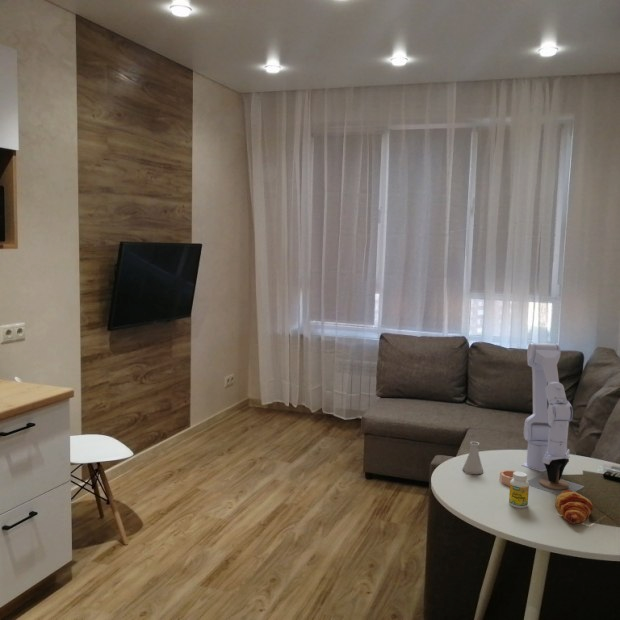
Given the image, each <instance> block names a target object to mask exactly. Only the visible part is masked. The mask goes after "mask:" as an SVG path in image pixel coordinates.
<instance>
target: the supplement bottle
mask: <svg viewBox="0 0 620 620" xmlns="http://www.w3.org/2000/svg"><path fill="white" fill-rule="evenodd" d="M527 479H528V474H527V473H525V472H522V471H517V472H514V473H513V479H512V480H511V481H510V486H509V492H508V493H509V496H508V497H509V498H508V504H509V505H510V506H511V507H514V508H516V509H524V508H527V507H528V505H529V504H528V503H529V488H530V486H529V483H528V481H529V480H527Z"/></svg>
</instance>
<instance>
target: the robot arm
mask: <svg viewBox="0 0 620 620" xmlns="http://www.w3.org/2000/svg"><path fill="white" fill-rule="evenodd" d="M526 349H527V350H526V351H527V353H526V354H527V356H526V361H527V366H529V367H530V368H531V372H532V373H531V374H532V414H531V415H529V416H528V417H526V418H525V419H524V426H523V438H524V440H525V441H526V442H527V449H526V450H527V451H526V452H527V453H526V462H524V463H522V464H521V466H523V467H525V468H529V469H532V470H534V471H537V472H541V473H543V472H546V474H547V475H548V480H549V481H551V482H554V483H555V482H556V480H557V475H558V471H559V470H560V471H559V480H560V479H562V476H563V473H564V470H565V467H566V466H567V464H569V461H570V449H569V448H568V436H569V435H568V434H569V425H570V422H572V420H573V418H574V417H573V416H574V415H573V414H574V412H573V411H574V410H573V406H572V404H571V403H570V401H569V400H567V396H566V395H567V394H566V392H565V391H566V390H565V386H564V385H563V384H562V383H561V382H560V379H559V372H558V371H559V370H558V363H559V361H560V358H561V353H562V351H561V347H560V345H559V344H558V343H546V342H545V343H543V342H542V343H541V342H530V343H529V344H528V346H527V348H526Z"/></svg>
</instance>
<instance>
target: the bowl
mask: <svg viewBox="0 0 620 620" xmlns="http://www.w3.org/2000/svg"><path fill="white" fill-rule="evenodd" d="M514 472H518V471H517V470H513V469H504V470H501V471H499V482H501V484H503V485H506V486H509V487H510V481H511V480H512V479H513V473H514Z"/></svg>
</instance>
